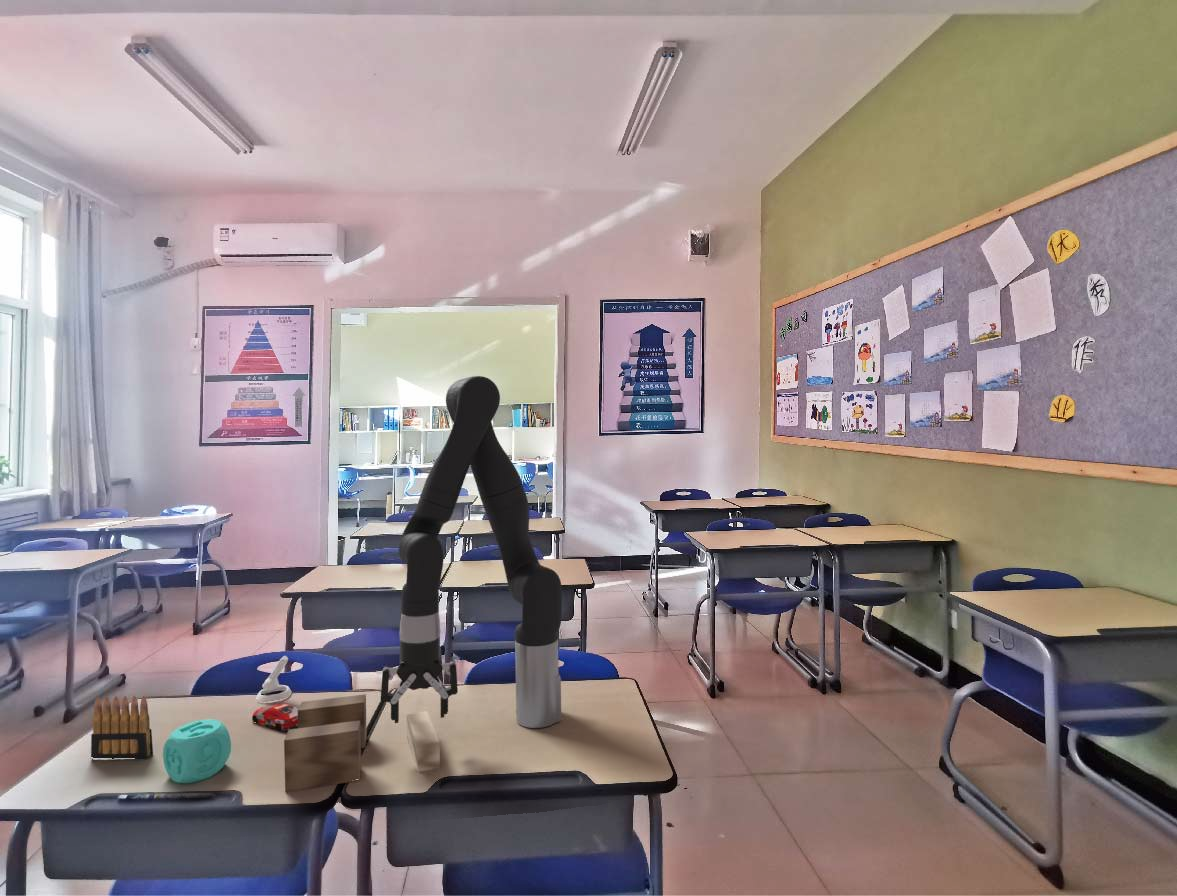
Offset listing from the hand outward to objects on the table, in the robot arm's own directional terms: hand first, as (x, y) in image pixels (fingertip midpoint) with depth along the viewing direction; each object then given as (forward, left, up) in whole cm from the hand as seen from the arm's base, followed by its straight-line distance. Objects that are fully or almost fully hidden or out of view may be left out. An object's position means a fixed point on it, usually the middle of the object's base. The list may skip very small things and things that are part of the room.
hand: (419, 718), depth 117 cm
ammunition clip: (+56, -15, -7) cm, 58 cm away
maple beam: (0, 0, -7) cm, 7 cm away
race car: (+29, -22, -7) cm, 38 cm away
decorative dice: (+40, -5, -7) cm, 40 cm away
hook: (+34, -37, -7) cm, 50 cm away
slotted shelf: (+17, -1, -7) cm, 18 cm away
